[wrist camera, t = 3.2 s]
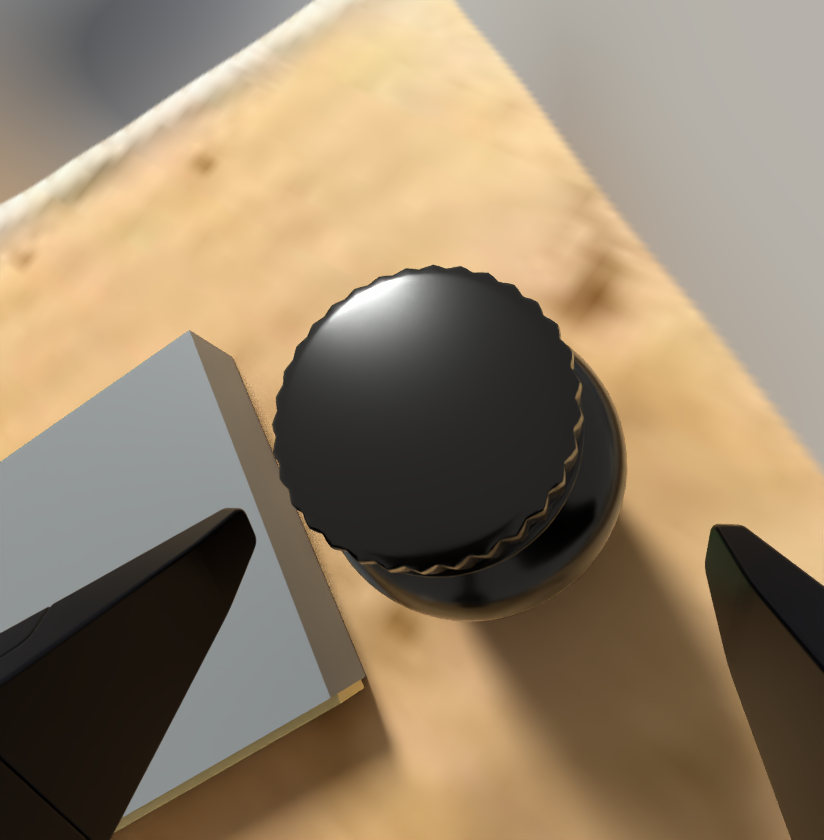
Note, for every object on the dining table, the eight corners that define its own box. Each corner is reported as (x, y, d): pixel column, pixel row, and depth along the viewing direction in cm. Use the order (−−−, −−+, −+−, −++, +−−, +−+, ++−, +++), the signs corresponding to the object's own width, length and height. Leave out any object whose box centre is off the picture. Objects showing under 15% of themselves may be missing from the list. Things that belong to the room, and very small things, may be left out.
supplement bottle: (631, 555, 16) (794, 548, 5) (450, 620, 17) (262, 729, 6) (547, 387, 19) (534, 137, 8) (393, 453, 20) (186, 319, 9)
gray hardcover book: (369, 684, 17) (334, 707, 15) (-31, 912, 19) (-128, 971, 17) (232, 357, 24) (189, 330, 21) (-60, 555, 26) (-134, 555, 23)
